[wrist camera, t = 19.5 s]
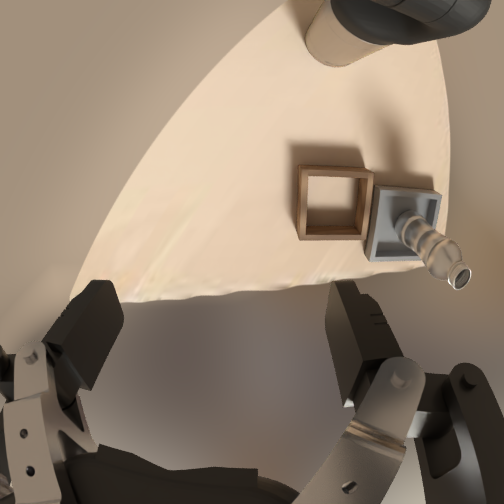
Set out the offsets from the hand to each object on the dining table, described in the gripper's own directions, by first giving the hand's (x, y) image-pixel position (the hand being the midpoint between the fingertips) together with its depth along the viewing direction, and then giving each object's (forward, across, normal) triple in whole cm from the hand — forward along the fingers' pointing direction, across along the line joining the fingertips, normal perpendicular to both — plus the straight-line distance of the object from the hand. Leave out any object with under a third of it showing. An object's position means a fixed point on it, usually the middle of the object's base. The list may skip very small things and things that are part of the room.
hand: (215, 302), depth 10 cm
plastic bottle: (+38, -30, +12) cm, 50 cm away
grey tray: (+38, -29, +12) cm, 49 cm away
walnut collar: (+38, -14, +8) cm, 41 cm away
